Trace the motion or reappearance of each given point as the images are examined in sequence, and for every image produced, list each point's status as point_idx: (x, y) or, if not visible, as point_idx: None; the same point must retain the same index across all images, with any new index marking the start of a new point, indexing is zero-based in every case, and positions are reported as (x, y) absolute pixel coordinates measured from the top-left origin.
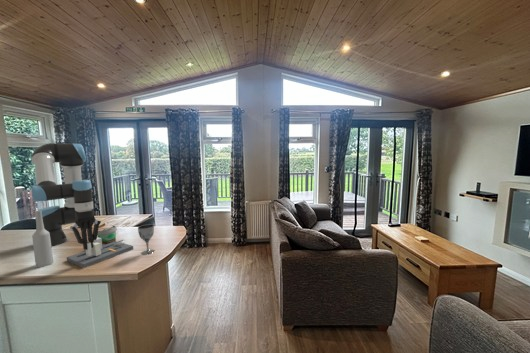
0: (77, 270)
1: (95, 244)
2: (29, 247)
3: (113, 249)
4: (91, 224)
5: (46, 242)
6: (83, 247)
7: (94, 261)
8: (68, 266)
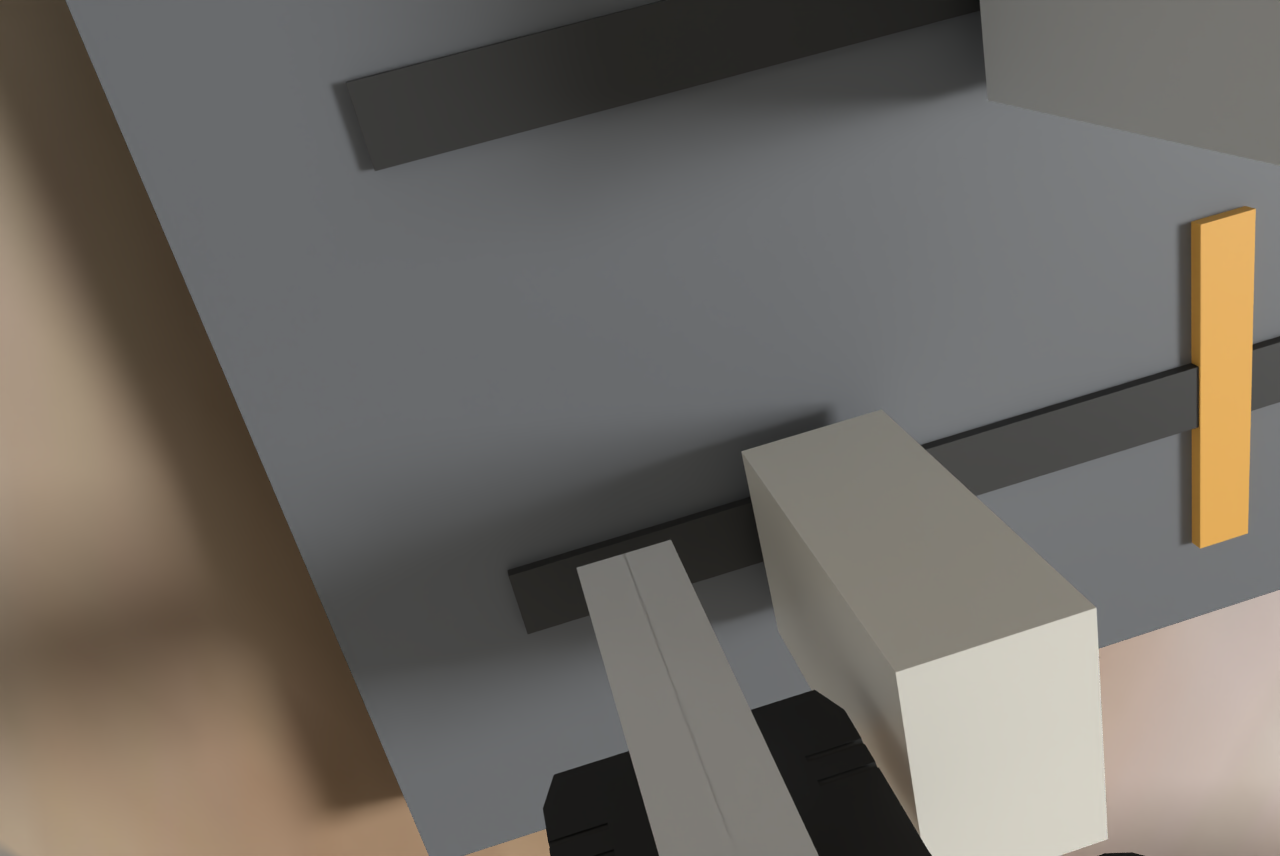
0: (299, 822)
1: (960, 849)
2: None
3: (1258, 383)
4: None
5: None
6: (552, 854)
7: None
8: (101, 410)
